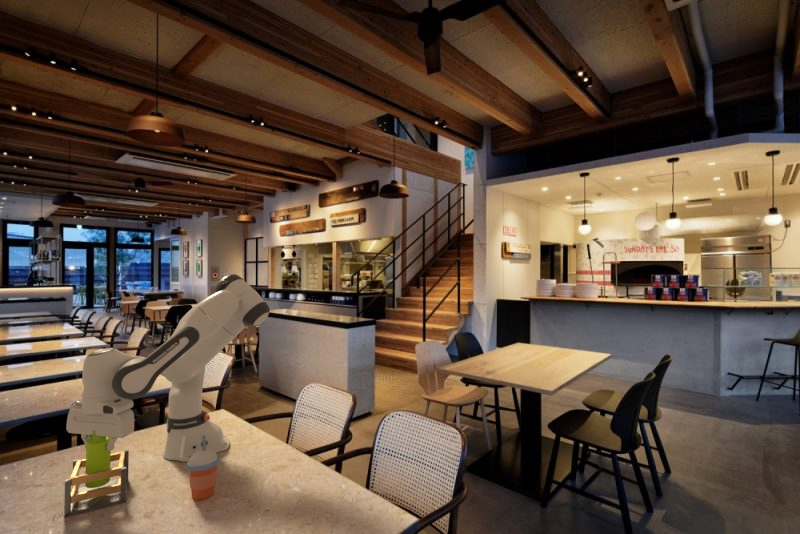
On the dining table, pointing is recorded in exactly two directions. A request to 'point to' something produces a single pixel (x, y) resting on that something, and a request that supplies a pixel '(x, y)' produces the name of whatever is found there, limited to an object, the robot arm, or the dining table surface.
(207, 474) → the cup with straw
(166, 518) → the dining table surface
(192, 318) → the robot arm
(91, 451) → the soap dispenser
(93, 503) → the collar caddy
